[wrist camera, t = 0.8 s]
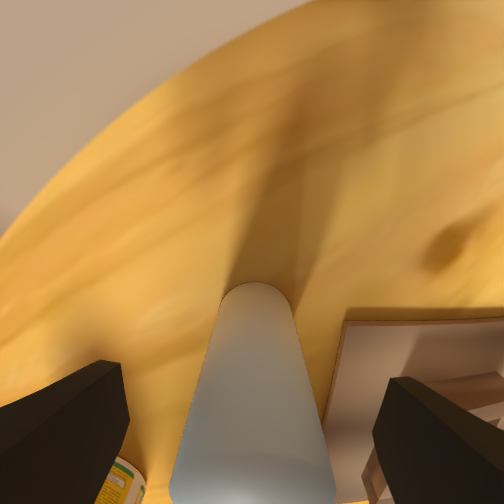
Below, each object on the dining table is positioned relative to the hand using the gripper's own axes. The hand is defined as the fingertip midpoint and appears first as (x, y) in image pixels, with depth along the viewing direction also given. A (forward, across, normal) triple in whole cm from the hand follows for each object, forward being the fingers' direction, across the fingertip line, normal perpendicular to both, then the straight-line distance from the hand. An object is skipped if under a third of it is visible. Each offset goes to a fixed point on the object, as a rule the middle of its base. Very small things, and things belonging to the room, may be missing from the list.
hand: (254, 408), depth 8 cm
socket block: (+6, -11, +7) cm, 15 cm away
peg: (+6, 0, 0) cm, 6 cm away
